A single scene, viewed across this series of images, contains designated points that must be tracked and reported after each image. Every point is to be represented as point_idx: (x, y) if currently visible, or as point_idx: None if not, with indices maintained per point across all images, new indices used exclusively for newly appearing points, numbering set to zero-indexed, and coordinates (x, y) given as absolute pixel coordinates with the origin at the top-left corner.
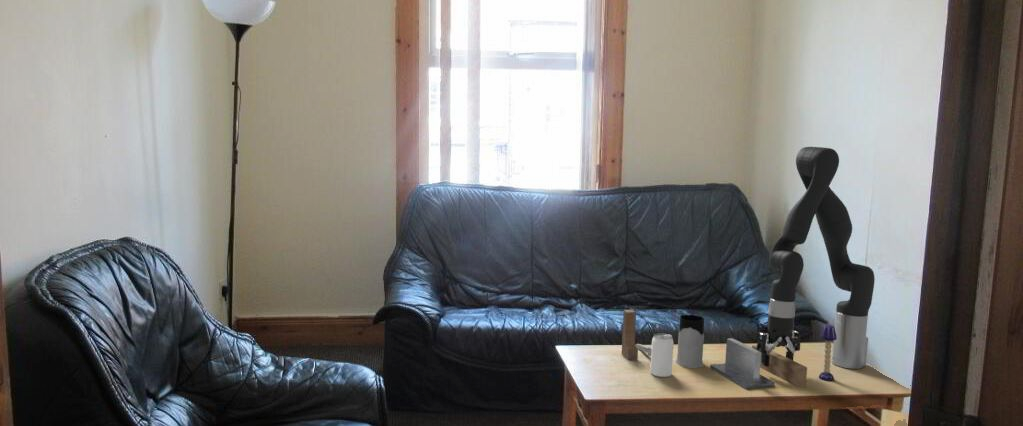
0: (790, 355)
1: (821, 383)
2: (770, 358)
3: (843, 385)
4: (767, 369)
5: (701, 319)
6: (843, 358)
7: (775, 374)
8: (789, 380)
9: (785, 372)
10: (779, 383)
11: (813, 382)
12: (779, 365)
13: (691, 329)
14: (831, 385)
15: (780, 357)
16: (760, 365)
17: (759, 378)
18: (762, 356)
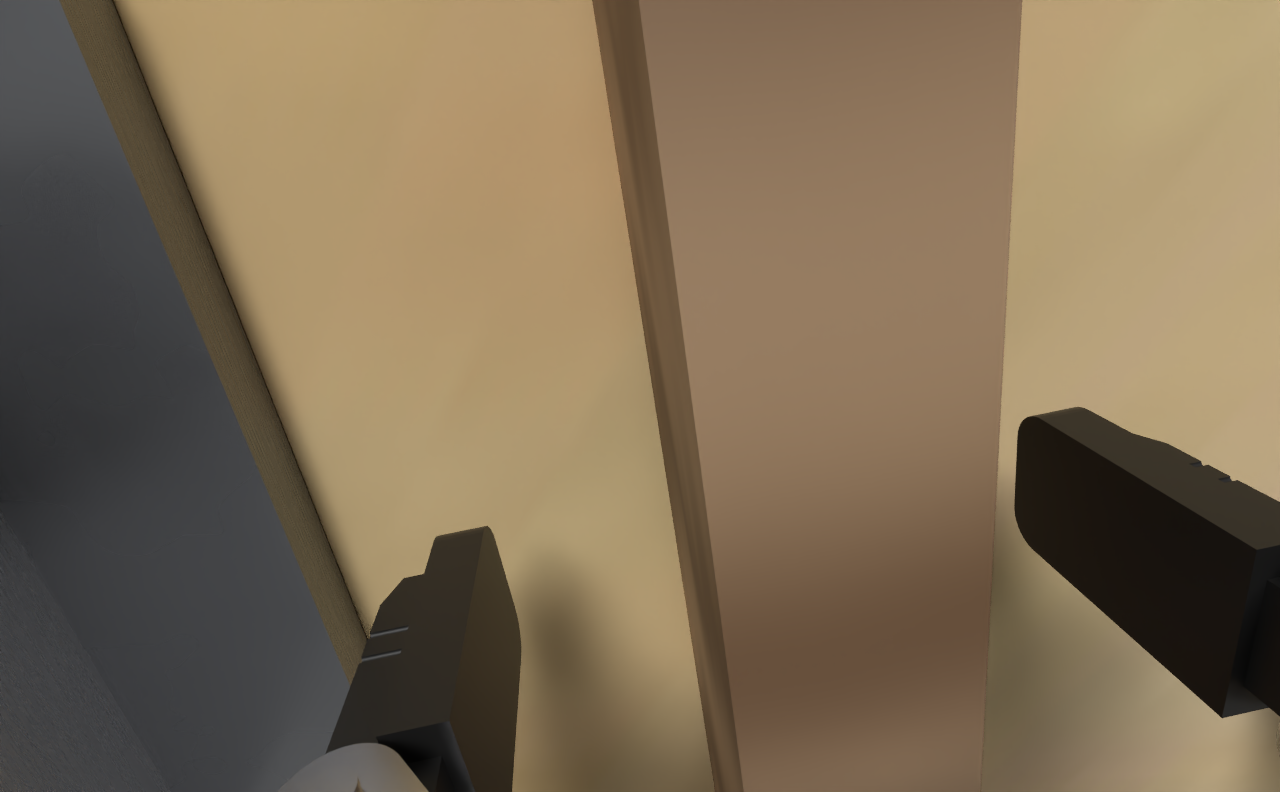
0: (1176, 661)
1: (1091, 738)
2: (690, 482)
3: (1277, 777)
4: (643, 316)
5: None
6: None
7: (672, 505)
8: (713, 763)
9: (720, 768)
10: (562, 756)
11: (1022, 715)
12: (717, 702)
13: None
14: (1150, 783)
15: (832, 745)
16: (608, 88)
17: (261, 788)
18: (346, 733)
